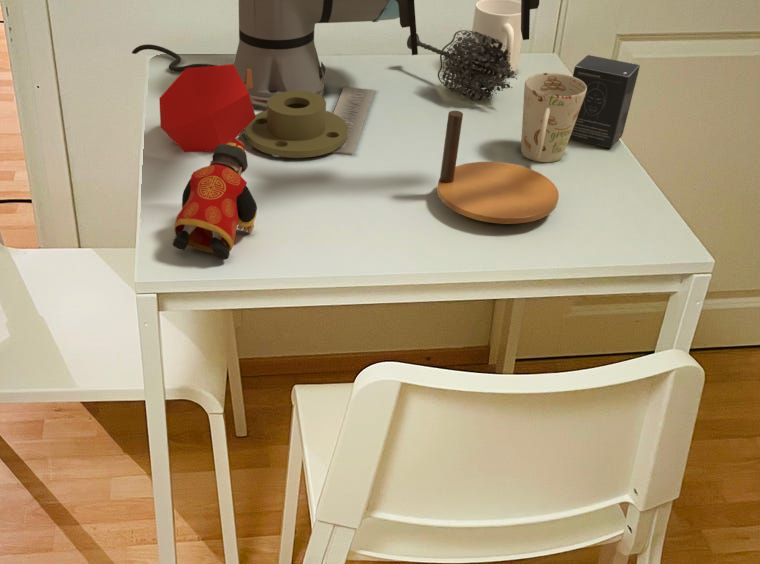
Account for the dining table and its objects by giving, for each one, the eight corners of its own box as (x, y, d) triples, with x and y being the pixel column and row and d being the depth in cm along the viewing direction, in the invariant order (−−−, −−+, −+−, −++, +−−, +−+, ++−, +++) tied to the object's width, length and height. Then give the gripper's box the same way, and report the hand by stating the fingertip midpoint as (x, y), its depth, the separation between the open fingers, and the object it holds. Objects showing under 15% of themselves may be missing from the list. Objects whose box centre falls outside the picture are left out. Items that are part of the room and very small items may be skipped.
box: (622, 136, 140) (641, 64, 133) (610, 149, 136) (629, 76, 129) (571, 124, 143) (587, 53, 136) (558, 137, 139) (574, 64, 132)
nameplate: (352, 152, 134) (317, 149, 135) (352, 154, 134) (317, 151, 135) (374, 89, 151) (343, 87, 152) (374, 91, 151) (343, 88, 152)
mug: (573, 145, 138) (588, 76, 131) (566, 183, 129) (583, 112, 122) (516, 137, 139) (528, 69, 132) (505, 174, 130) (518, 104, 124)
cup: (508, 59, 162) (519, -3, 155) (528, 87, 153) (540, 22, 146) (461, 61, 161) (470, -2, 154) (479, 88, 153) (489, 23, 146)
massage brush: (384, 38, 152) (401, 82, 159) (484, 80, 139) (498, 125, 146) (423, -3, 152) (439, 42, 160) (526, 35, 139) (538, 82, 147)
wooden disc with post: (412, 190, 123) (420, 117, 117) (489, 156, 131) (501, 86, 124) (505, 237, 115) (519, 161, 108) (582, 197, 122) (600, 125, 116)
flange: (363, 91, 137) (269, 75, 142) (326, 133, 127) (226, 114, 132) (361, 122, 141) (270, 105, 145) (325, 165, 131) (228, 146, 135)
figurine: (243, 281, 117) (279, 181, 121) (233, 241, 108) (273, 134, 112) (171, 264, 118) (209, 165, 122) (156, 223, 109) (197, 118, 113)
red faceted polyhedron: (187, 182, 137) (278, 136, 138) (165, 131, 126) (265, 81, 126) (155, 124, 141) (244, 79, 142) (132, 68, 130) (228, 20, 130)
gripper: (349, -115, 101) (369, 70, 117) (589, -155, 97) (576, 42, 113) (350, -140, 106) (369, 41, 122) (578, -180, 102) (568, 13, 118)
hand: (469, 42), depth 117 cm, fingers open, 13 cm apart
